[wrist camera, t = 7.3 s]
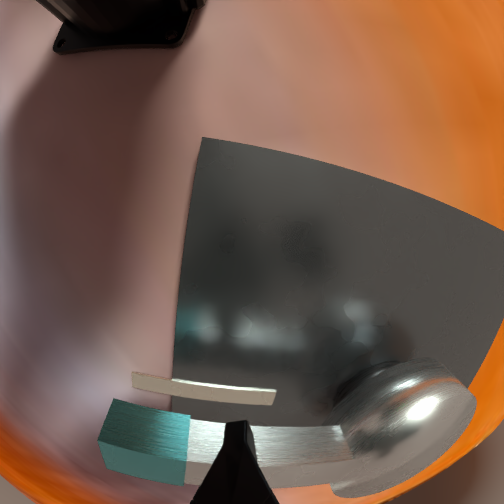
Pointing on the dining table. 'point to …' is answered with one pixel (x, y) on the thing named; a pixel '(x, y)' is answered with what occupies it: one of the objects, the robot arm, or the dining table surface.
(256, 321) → the lock base
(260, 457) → the teal-tipped lever
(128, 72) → the dining table surface
